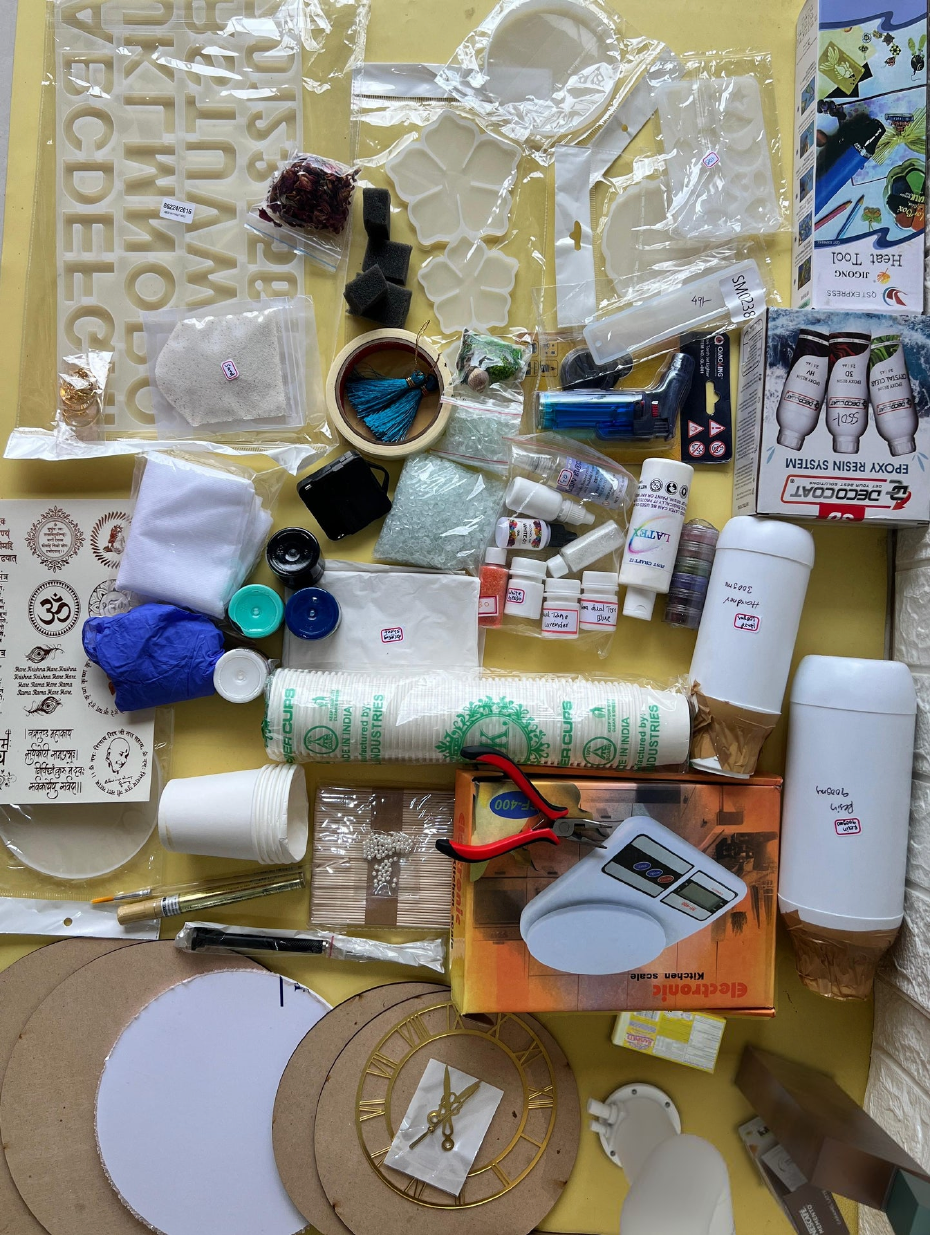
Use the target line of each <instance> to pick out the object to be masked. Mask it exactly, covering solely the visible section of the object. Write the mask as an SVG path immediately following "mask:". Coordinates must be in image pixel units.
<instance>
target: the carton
mask: <svg viewBox="0 0 930 1235" xmlns="http://www.w3.org/2000/svg"><path fill="white" fill-rule="evenodd" d="M884 1214H885V1216H886V1218H887V1220H888V1223H889V1224H890V1226H891V1229H892V1231H893V1233H894V1235H930V1184H929V1183H927V1182H925V1181H923V1180H921V1179H919V1178H917V1177H915V1176H913V1175H911V1174H909V1173H907V1172H905V1171H903V1170H901V1169H899V1170H898V1173H897V1176H896V1180H895V1183H894V1186H893V1189H892V1192H891V1196H890V1199H889V1202H888V1205H887V1208H886V1212H885V1213H884Z"/></svg>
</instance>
